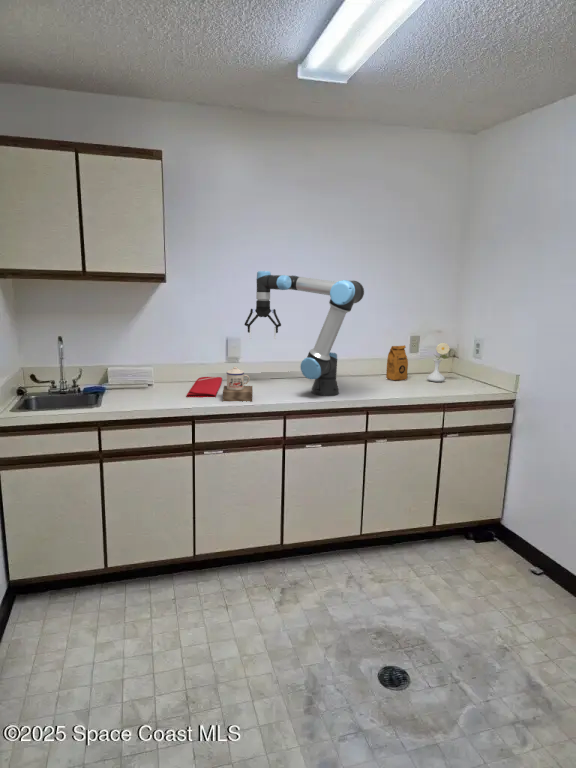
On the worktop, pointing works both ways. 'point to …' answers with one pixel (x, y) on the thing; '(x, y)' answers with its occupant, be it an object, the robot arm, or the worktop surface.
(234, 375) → the teacup with lid
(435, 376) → the flower in vase
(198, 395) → the dish drying mat
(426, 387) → the worktop surface
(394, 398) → the worktop surface
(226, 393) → the walnut riser
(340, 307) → the robot arm
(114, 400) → the worktop surface
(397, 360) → the coffee package
